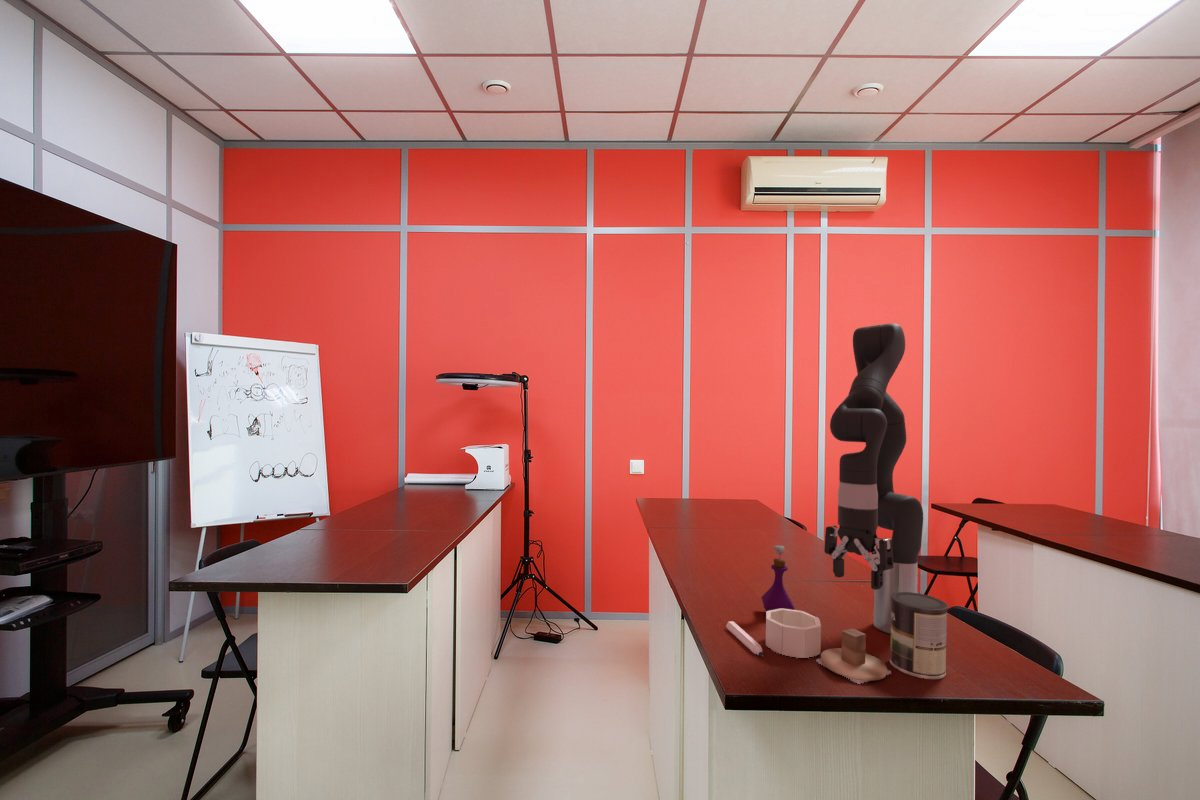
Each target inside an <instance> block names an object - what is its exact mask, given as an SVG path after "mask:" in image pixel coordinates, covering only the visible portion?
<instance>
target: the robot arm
mask: <svg viewBox="0 0 1200 800" xmlns="http://www.w3.org/2000/svg"><path fill="white" fill-rule="evenodd" d="M852 349H853V356H854V361H855V367H856V373H857V375H856V376H855V377H854V379H853V381H852V382H851V385H850V389H849V392H848V395H847V396H846V397H845V399H844V400H843V401H842V402H840V404H839V405H838V406H837V407H836V409H835V410H834V411H833V413H832V415H831V417H830V422H829V429H830V433H831V434H832V436H833V437H834V438H835V439H836V440H838V441H839V442H846V443H847V442H851V443H854V442H855V443H865V447H864V448H863V450H860V451H857V452H849V453H844V454H842V455H841V456H840V458H839V466H838V467H839V470H838V471H839V472H838V473H839V477H838V478H839V479H838V480H839V483H838V490H837V524H838V526H839V527H838V526H837V525H830V526H826V527H825V532H824V533H825V534H824V548H823V549H824V550H823V551H824V554H826V555H829V556H830V557H831V558H832V572H833V574H834V577H835V578H843V577H844V576H845V559H844V557H845V555H847V553H854V554H855V555H857V556H862V557H863V559H864V560H865V561H866V562H867V563H868V564H869V566H870V567H871V571H870V572H871V573H870V574H871V575H870V577H871V578H870V588H871V589H872V590H874V594H873V595H874V596H873V598H874V599H873V600H874V602H873V605H874V606H873V626H874V627H875V628H876V629H877V630H879V631H881V632H884V633H887V634H890V635H891V595H892V594H893V593H897V592H912V593H919V591H918V567H919V566H918V560H919V554H920V551H921V549H922V537H923V527H924V510H923V506H922V504H921V502H920V501H919V500H918V498H916V497H914V496H911V495H906V494H902V493H897V492H896V493H895V490H894V481H893V477H894V475H893V474H894V469H895V466H896V464H897V462H898V461H899V459H900V457H901V455H902V453H903V451H904V450H905V446H906V443H907V429H906V422H905V421H906V419H905V414H904V412H903V410H902V409H901V407H900V406H899V405H898V403H897V402H896V401H895V399H893V397H892V396H891V395H890V394H889V393H888V392H887V388H888V385H889V383H890V381H891V379H892V377H893V376H894V373H895V372H896V370H897V369H898V367H899V365H900V363H901V361H902V360H903V356H904V354H905V351H906V336H905V331H904V329H903V328H902V326H901V325H900V324H898V323H894V322H893V323H883V324H874V325H869V326H863V327H857V328H856V329H855V330H854V332H853V334H852ZM878 528H882V529H885V530H889V531H892V532H891V533H892V534H891V535H892V536H891V538H890V537H889V538H880V537H878V535H877V529H878ZM838 538H839V540H840V541H839V543H838ZM870 553H871V554H870Z"/></svg>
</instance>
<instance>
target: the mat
mask: <svg viewBox="0 0 1200 800" xmlns="http://www.w3.org/2000/svg"><path fill="white" fill-rule="evenodd" d="M817 662H818V663H817ZM816 663H817V664H819V665H820V664H821V665H820V666H822V665H823V664H822V662H821V657H820V658H817V659H816ZM822 667H824V668H826V667H825V666H824V665H823V666H822ZM889 674H890V675H892V671H891V670H890V669H887V676H889ZM843 678H845V676H844V677H843ZM847 678H848V677H846V679H847ZM849 679H850V680H849ZM847 680H849V681H851V682H853V683H854V684H856V683H857V685H858V684H859V685H861V683H862V684H865V683H868V682H869V681H865V680H858V679H852V678H848V679H847ZM864 682H865V683H864Z"/></svg>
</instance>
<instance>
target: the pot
mask: <svg viewBox="0 0 1200 800" xmlns="http://www.w3.org/2000/svg"><path fill="white" fill-rule="evenodd" d="M765 613H766V614H765V615H766V616H765V647H767V648H768V649H769V648H770V649H771V651H772V652H773V653H775V652H776V653H775V654H778V653H779V654H778V655H780V654H782V655H781V656H783V655H785V656H784V657H786V656H790V657H789V658H791V657H796V658H795V659H798V658H808V659H810V658H809V657H813V658H815V657H817V656H819V655H821V650H822V649H821V646H822V645H821V644H822V641H821V640H822V639H821V638H822V624H821V621H820V618H819V617H817V616H814V615H812V614H810V613H808V612H806V611H804V610H803V611H802V610H800V609H795V610H791V609H784V608H782V609H781V608H780V609H775V610H770V611H766V610H765ZM770 649H769V650H770ZM814 656H815V657H814Z"/></svg>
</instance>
